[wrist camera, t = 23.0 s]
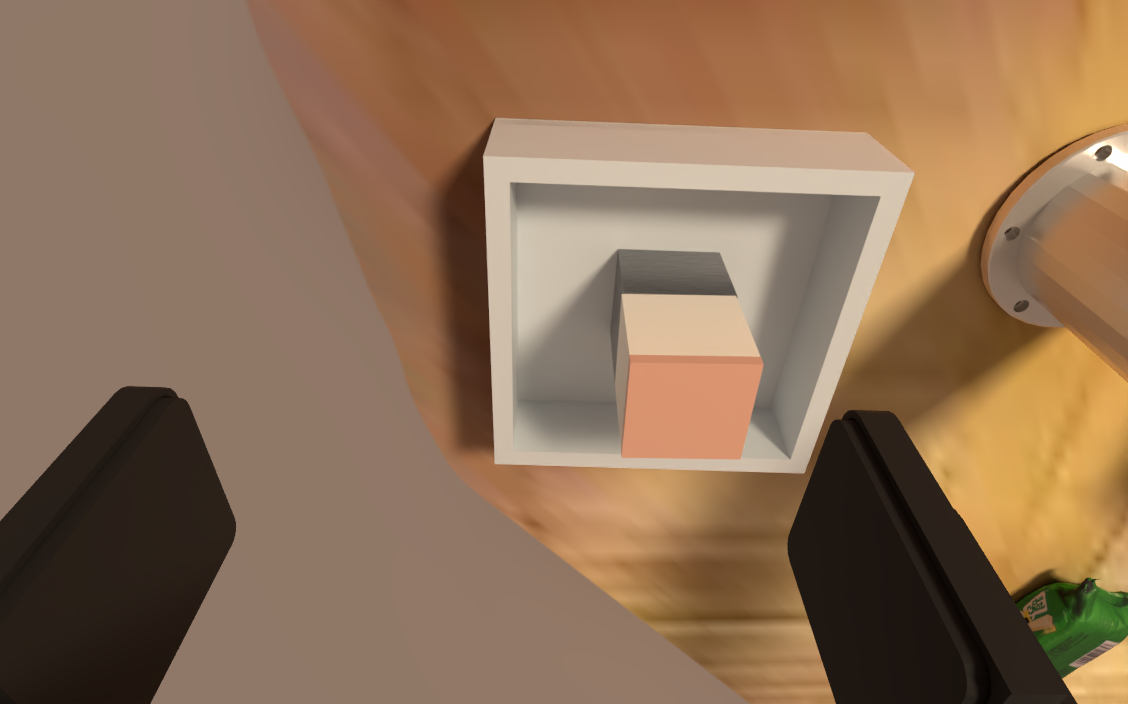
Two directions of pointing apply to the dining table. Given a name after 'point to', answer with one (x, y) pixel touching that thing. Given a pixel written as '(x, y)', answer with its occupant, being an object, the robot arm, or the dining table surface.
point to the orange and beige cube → (684, 376)
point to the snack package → (1075, 621)
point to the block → (666, 278)
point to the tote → (676, 223)
